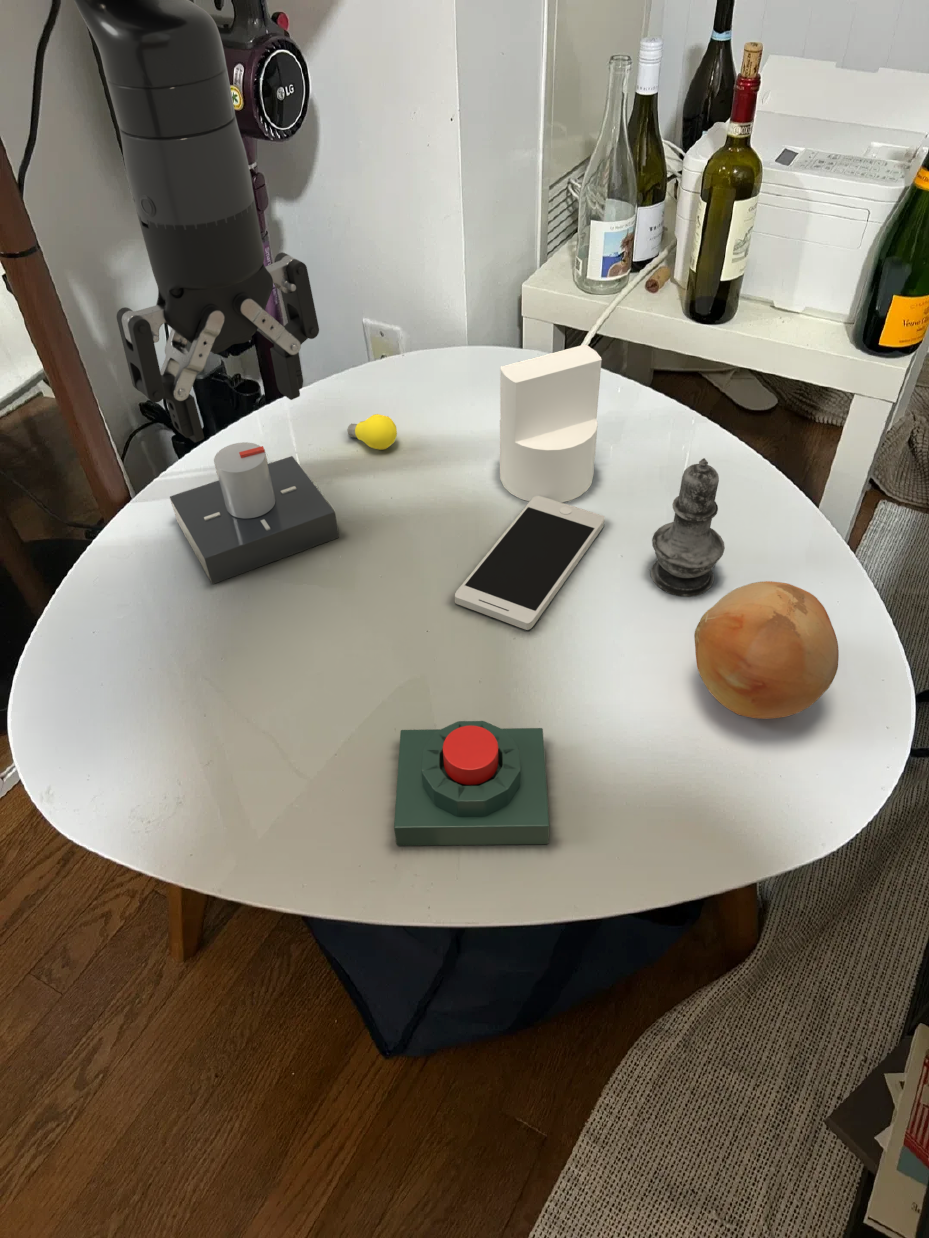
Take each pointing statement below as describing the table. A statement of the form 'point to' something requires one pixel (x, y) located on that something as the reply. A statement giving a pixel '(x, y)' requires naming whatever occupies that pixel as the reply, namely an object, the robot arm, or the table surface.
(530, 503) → the smartphone
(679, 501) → the grey chess piece
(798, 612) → the onion
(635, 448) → the table surface
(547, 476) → the base with upright slab
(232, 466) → the rotary knob
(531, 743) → the button block
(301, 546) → the dark grey flat block
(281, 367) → the robot arm
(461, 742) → the stop button
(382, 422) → the light bulb
